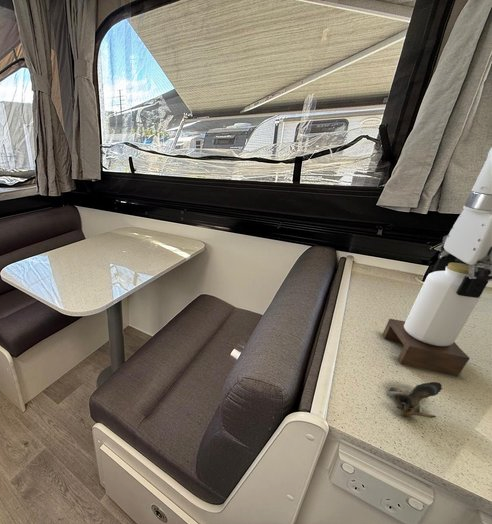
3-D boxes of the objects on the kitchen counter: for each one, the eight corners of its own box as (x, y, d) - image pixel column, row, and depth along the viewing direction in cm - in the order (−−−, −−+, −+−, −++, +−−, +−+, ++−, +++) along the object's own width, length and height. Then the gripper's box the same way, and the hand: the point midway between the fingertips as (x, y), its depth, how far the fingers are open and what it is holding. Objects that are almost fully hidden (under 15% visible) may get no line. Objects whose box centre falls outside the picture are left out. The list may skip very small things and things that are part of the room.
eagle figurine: (445, 436, 46) (451, 399, 51) (428, 402, 46) (435, 367, 50) (389, 423, 53) (399, 391, 57) (373, 393, 52) (384, 363, 57)
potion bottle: (418, 322, 67) (451, 256, 60) (461, 344, 60) (505, 272, 52) (393, 328, 65) (424, 260, 58) (435, 351, 58) (476, 278, 50)
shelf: (429, 346, 68) (440, 327, 65) (456, 379, 59) (470, 358, 56) (381, 337, 71) (389, 318, 69) (398, 366, 62) (409, 346, 60)
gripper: (572, 216, 41) (509, 311, 48) (490, 196, 56) (451, 271, 63) (504, 212, 44) (454, 302, 51) (443, 194, 58) (411, 266, 66)
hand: (453, 285), depth 57 cm, fingers closed on potion bottle, 8 cm apart
